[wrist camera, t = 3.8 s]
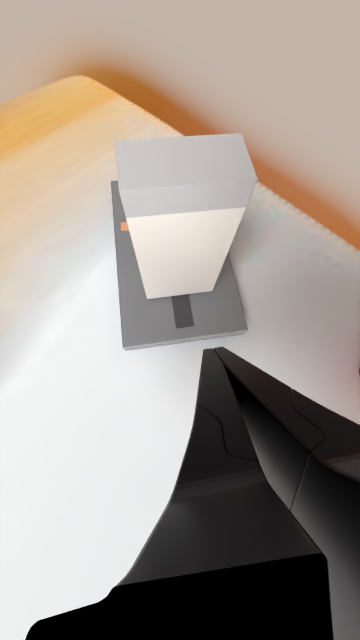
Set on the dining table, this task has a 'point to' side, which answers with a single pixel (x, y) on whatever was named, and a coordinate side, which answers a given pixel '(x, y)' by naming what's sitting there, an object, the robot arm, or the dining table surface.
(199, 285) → the fader handle
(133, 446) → the dining table surface
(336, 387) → the dining table surface
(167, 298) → the fader console
